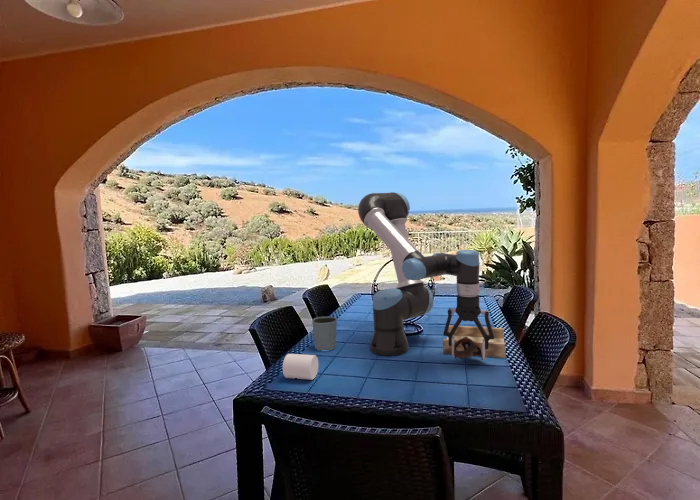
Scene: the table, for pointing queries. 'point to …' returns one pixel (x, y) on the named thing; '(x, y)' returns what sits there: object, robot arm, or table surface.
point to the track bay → (478, 340)
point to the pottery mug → (467, 348)
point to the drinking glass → (324, 332)
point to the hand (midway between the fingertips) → (468, 356)
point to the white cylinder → (300, 366)
